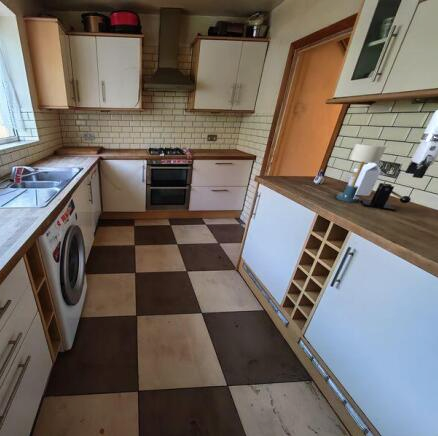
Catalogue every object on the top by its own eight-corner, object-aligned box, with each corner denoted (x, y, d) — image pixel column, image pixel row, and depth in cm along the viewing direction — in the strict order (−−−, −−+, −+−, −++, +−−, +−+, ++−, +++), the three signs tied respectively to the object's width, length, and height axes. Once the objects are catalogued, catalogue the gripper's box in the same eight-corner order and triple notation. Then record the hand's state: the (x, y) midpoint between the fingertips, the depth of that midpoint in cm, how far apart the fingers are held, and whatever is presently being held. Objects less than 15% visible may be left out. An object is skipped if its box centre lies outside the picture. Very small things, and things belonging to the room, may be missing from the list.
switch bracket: (388, 205, 122) (400, 184, 116) (394, 211, 115) (406, 189, 110) (360, 201, 127) (369, 180, 122) (363, 206, 120) (373, 184, 115)
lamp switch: (403, 203, 116) (411, 197, 114) (406, 205, 113) (414, 199, 111) (378, 188, 119) (385, 182, 117) (380, 190, 117) (387, 184, 114)
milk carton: (355, 195, 136) (369, 163, 128) (349, 191, 143) (362, 161, 135) (369, 196, 135) (384, 164, 127) (362, 192, 141) (376, 162, 133)
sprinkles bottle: (351, 188, 149) (359, 168, 143) (356, 190, 144) (366, 169, 139) (344, 188, 149) (352, 167, 143) (349, 190, 144) (358, 169, 139)
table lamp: (358, 198, 131) (382, 144, 118) (362, 204, 122) (389, 147, 109) (332, 194, 137) (353, 142, 124) (335, 200, 128) (357, 144, 115)
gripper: (455, 141, 94) (432, 180, 102) (436, 137, 108) (416, 173, 115) (429, 139, 98) (408, 178, 105) (414, 136, 111) (396, 170, 119)
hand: (413, 175), depth 110 cm, fingers open, 9 cm apart
